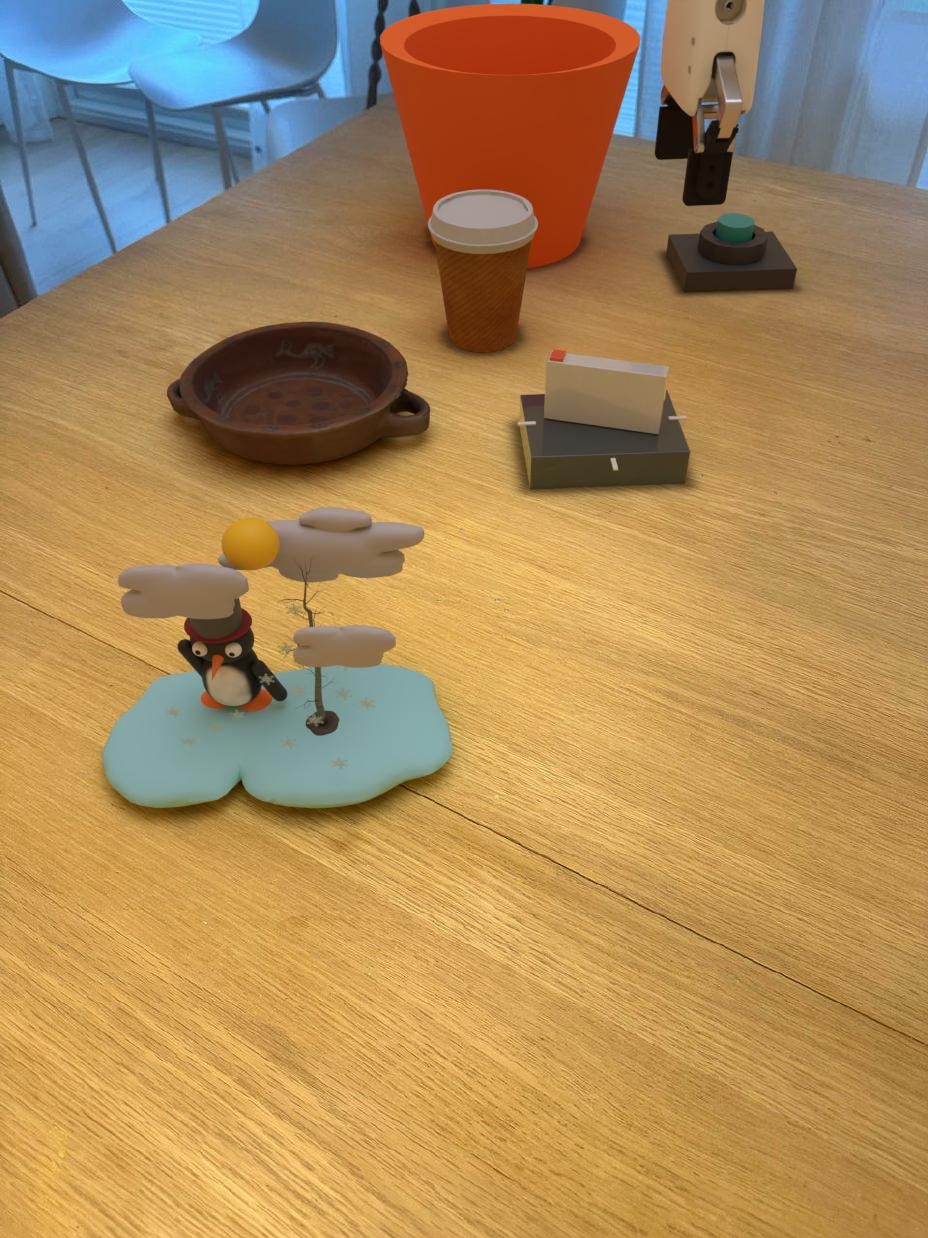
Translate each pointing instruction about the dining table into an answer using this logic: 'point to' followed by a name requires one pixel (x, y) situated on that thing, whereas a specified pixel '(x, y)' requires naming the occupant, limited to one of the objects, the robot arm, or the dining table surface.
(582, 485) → the base
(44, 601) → the dining table surface
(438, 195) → the flowerpot
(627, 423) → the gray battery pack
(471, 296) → the disposable coffee cup
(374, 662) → the penguin figurine
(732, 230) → the teal button
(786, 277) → the switch box
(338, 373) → the dish
